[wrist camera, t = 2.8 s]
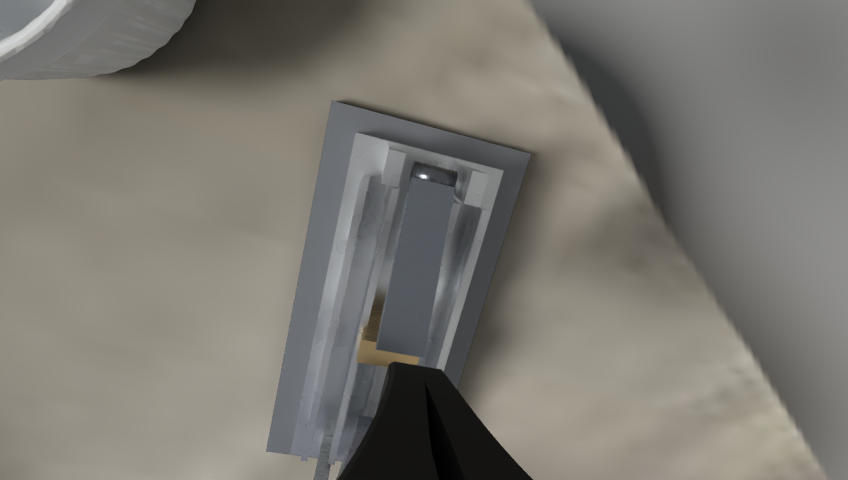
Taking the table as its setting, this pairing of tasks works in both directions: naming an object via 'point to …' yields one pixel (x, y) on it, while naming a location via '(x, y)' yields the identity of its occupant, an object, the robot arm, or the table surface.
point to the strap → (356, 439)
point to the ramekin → (83, 35)
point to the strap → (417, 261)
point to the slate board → (323, 229)
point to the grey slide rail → (381, 289)
